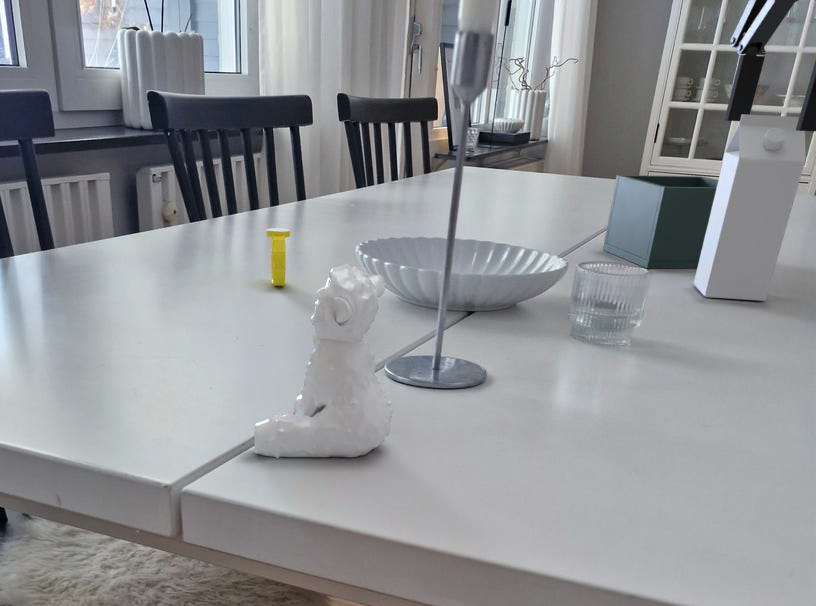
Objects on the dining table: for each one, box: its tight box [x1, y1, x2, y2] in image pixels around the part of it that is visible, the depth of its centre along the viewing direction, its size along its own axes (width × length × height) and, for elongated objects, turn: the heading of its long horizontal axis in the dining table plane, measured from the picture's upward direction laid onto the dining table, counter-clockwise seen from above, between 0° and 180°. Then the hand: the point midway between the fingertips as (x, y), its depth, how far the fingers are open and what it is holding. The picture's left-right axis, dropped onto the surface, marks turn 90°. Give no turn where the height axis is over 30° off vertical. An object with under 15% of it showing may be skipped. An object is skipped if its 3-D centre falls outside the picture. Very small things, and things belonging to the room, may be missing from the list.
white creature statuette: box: [253, 263, 394, 459], centre depth 60 cm, size 10×9×12 cm
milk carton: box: [693, 114, 806, 302], centre depth 105 cm, size 7×7×19 cm
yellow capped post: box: [265, 227, 291, 287], centre depth 104 cm, size 6×3×6 cm, turn 6°
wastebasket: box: [602, 174, 719, 270], centre depth 126 cm, size 14×14×10 cm
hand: (770, 126), depth 101 cm, fingers open, 13 cm apart
